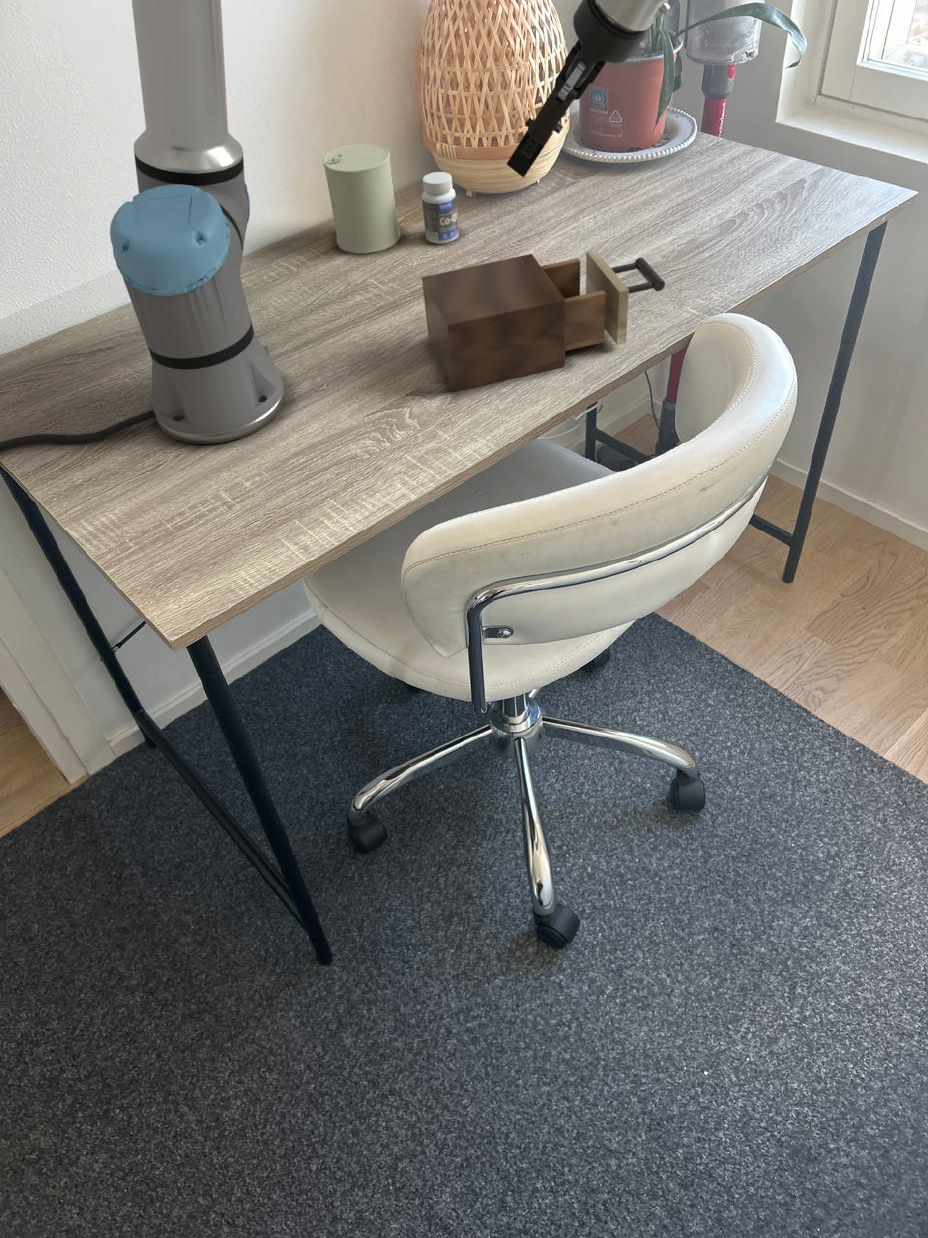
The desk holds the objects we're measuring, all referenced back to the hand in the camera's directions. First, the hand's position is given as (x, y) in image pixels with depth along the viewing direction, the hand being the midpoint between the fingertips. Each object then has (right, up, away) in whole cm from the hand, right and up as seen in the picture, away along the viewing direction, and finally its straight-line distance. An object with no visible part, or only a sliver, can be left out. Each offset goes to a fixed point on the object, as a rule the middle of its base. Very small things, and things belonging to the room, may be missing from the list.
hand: (517, 167), depth 123 cm
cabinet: (-3, -25, -6) cm, 26 cm away
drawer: (+8, -22, -5) cm, 23 cm away
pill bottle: (-10, -3, +16) cm, 19 cm away
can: (-20, -2, +18) cm, 27 cm away
